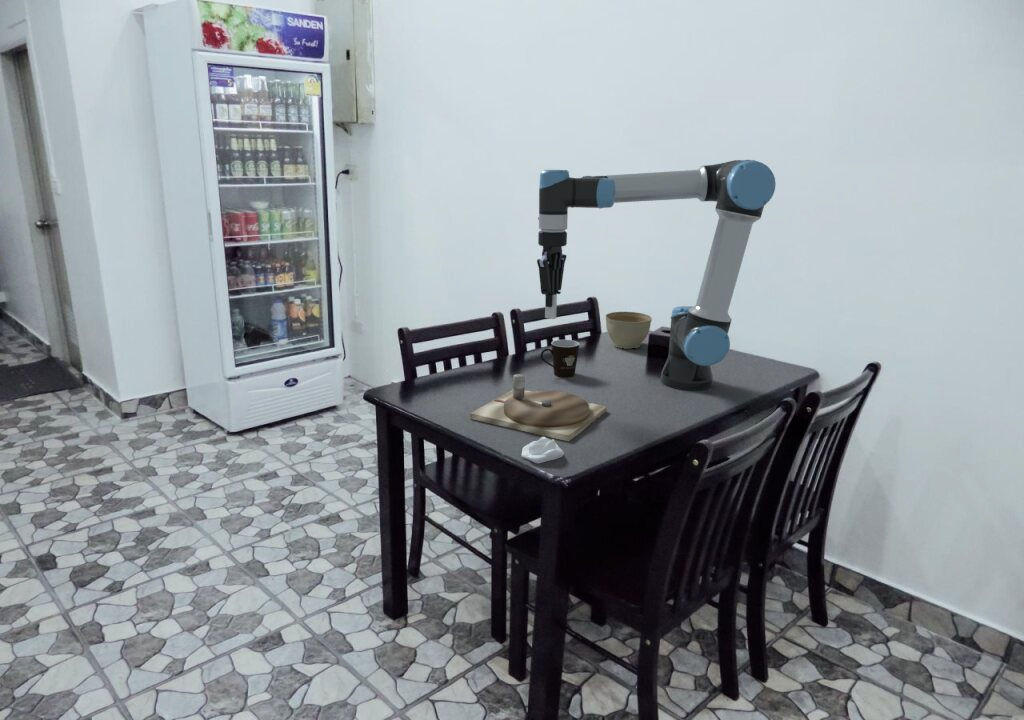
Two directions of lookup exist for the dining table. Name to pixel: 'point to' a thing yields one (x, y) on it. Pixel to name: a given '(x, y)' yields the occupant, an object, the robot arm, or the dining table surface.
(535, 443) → the crumpled white cloth
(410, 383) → the dining table surface
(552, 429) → the dial board
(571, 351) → the coffee mug
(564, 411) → the wheel
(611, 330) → the planter bowl
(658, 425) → the dining table surface
